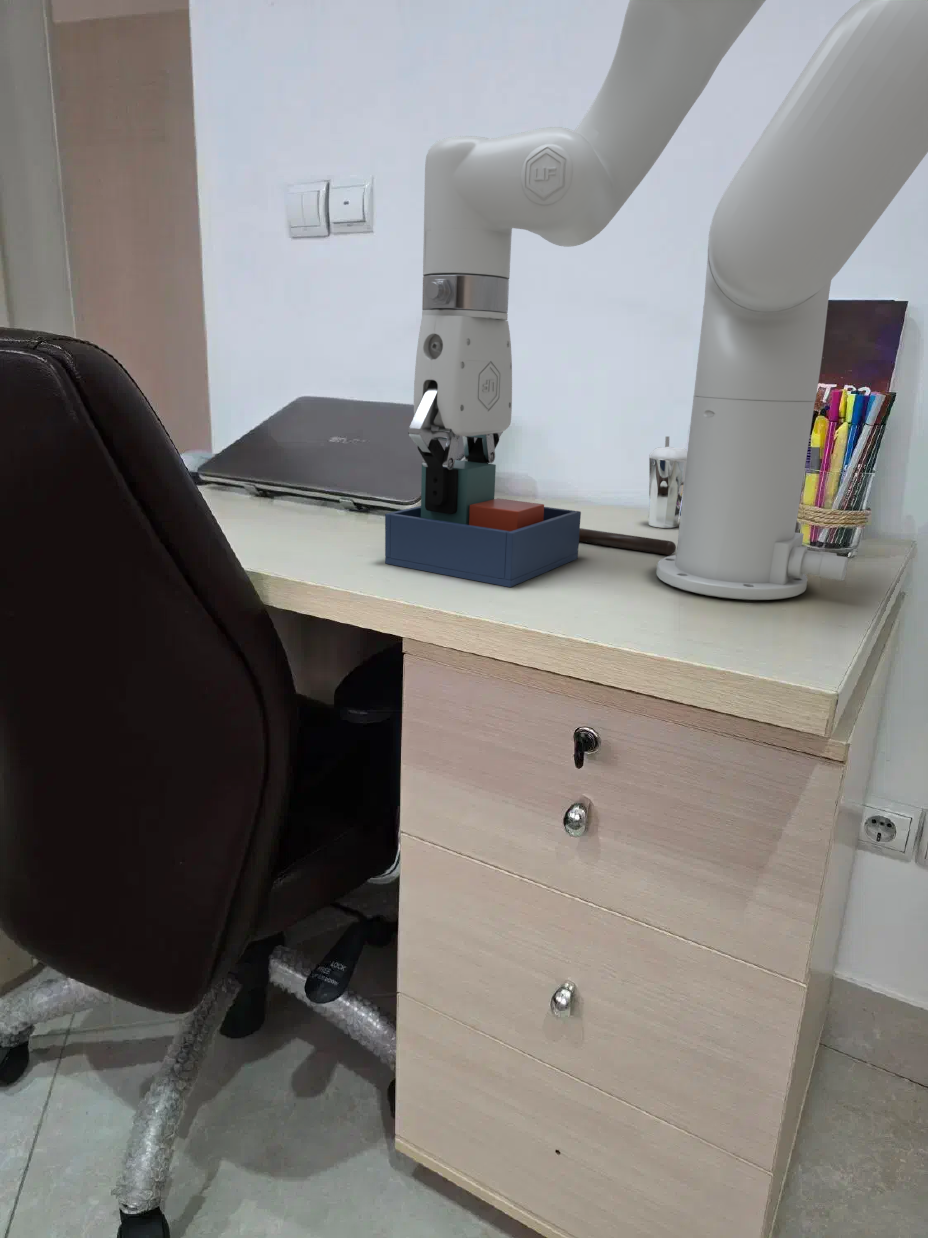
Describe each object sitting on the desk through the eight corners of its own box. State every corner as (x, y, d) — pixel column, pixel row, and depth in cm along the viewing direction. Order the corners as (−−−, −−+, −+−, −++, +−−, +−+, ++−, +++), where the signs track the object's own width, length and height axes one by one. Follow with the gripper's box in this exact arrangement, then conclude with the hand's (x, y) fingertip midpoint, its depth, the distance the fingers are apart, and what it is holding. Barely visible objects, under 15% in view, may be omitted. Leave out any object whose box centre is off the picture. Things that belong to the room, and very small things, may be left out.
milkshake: (678, 521, 100) (687, 437, 97) (685, 530, 95) (695, 441, 92) (640, 519, 100) (648, 435, 97) (645, 528, 95) (653, 439, 92)
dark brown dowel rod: (682, 551, 84) (683, 538, 83) (667, 559, 80) (668, 545, 80) (453, 518, 98) (454, 506, 97) (432, 523, 94) (432, 511, 94)
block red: (541, 557, 77) (544, 504, 76) (515, 567, 73) (518, 511, 72) (495, 549, 80) (497, 498, 78) (467, 559, 76) (469, 504, 74)
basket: (577, 558, 80) (581, 511, 78) (510, 587, 69) (512, 533, 68) (462, 539, 86) (463, 495, 85) (384, 563, 76) (384, 513, 74)
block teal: (493, 517, 79) (496, 464, 77) (465, 524, 75) (467, 469, 73) (449, 510, 81) (451, 459, 80) (420, 517, 77) (421, 463, 76)
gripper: (446, 293, 63) (440, 526, 69) (548, 307, 77) (535, 501, 83) (370, 293, 67) (369, 515, 73) (479, 307, 81) (472, 492, 86)
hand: (458, 505), depth 78 cm, fingers closed on block teal, 5 cm apart
